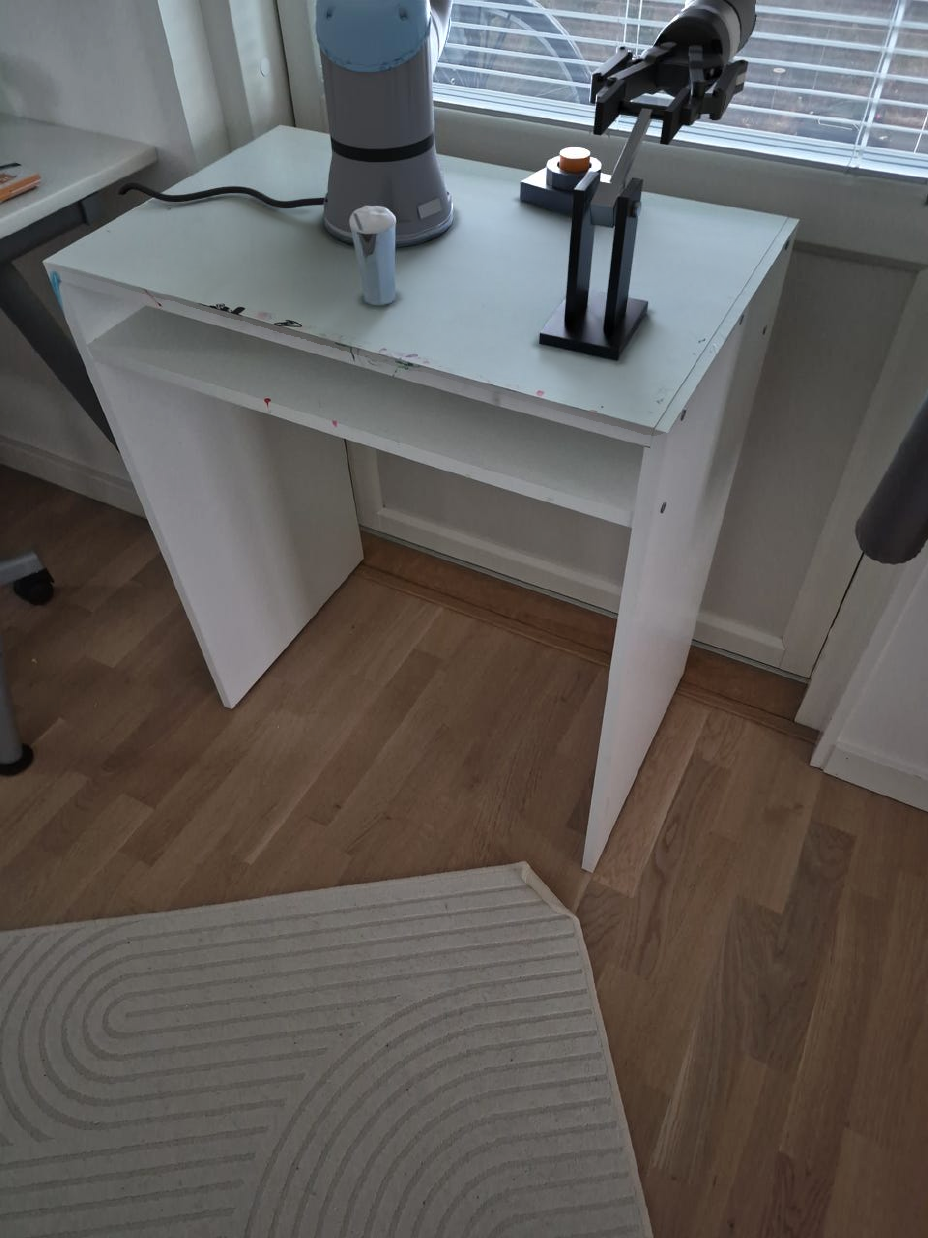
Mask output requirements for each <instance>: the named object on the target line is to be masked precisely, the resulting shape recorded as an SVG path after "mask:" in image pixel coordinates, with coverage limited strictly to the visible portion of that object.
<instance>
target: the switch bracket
mask: <svg viewBox="0 0 928 1238" xmlns="http://www.w3.org/2000/svg"><path fill="white" fill-rule="evenodd" d="M599 178H600V173H599V172H593V171H589V172H588V174H587V175H586V176H585V177H584V178H583V179H582V181H581V182H580V183H579V184H578V185H577V186H576V188H575V189H574V194H573V202H572V205H573V208H572V216H571V220H570V221H571V223H570V225H571V226H570V236H569V251H568V262H567V263H568V265H567V275H566V276H567V278H566V289H565V290H566V292H565V298H564V299H563V301H562V302H561V303H560V305H559V306H558V307H557V309H556V310H555V312H554V313H553V314H552V316H551V317H550V319H549V320H548V321H547V322H546V324H545V325H544V327H543V328H542V329H541V330H540V331H539V338H538V339H539V340H538V342H539V343H538V344H539V345H543V346H548V347H551V348H557V349H561V350H565V351H571V352H576V353H580V354H585V355H589V356H593V357H597V358H603V359H606V360H612V361H616V362H617V361H619V359H620V358H621V356H622V355H623V353H624V351H625V350H626V348H627V346H628V345H629V343H630V341H631V339H632V338H633V336H634V334H635V333H636V331H637V330H638V328H639V326H640V325H641V323H642V321H643V319H644V318H645V316H646V315H647V313H648V307H649V300H645V299H641V298H634V297H629V293H630V284H631V276H632V271H633V269H632V268H633V262H634V253H635V246H636V240H637V239H636V238H637V231H638V223H639V222H638V221H639V217H640V214H641V212H642V211H641V210H642V201H641V199H642V191H643V184H644V178H639V177H631V179H630V180H629V182H627V184H625V188H624V189H623V191H622V192H621V193H620V194H619V196H618V200H617V209H616V218H615V226H614V228H613V236H612V237H613V238H612V247H611V254H610V255H611V256H610V263H609V264H610V265H609V273H608V283H607V291H606V292H603V291H597V290H592V289H590V285H591V284H590V283H591V275H592V274H591V272H592V261H593V254H594V253H593V250H594V241H595V231H596V230H595V229H596V225H591V224H590V202H591V200H592V197H593V195H594V193H595V191H596V189H597V186H598V184H599Z"/></svg>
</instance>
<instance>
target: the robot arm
mask: <svg viewBox="0 0 928 1238" xmlns="http://www.w3.org/2000/svg"><path fill="white" fill-rule="evenodd" d="M453 3H454V0H316V1H315V24H314V25H315V27H314V29H315V35H316V41H317V43H318V48H319V58H320V65H321V73H322V82H323V89H324V90H323V91H324V99H325V105H326V115H327V122H328V131H329V138H330V147H331V159H330V165H329V171H328V177H327V178H328V179H327V189H326V190H327V191H326V193H325V196H324V197H307V198H300V199H299V198H298V199H292V200H277V199H275V198H272V197H269V196H268V195H267V194H264V193H262V192H261V191H259V190H257V189H255V188H252V187H246V186H240V185H230V186H221V187H214V188H210V189H204V190H200V191H197V192H191V193H186V194H166V193H162V192H159V191H156V190H154V189H152V188H150V187H148V186H146V185H143V184H141V183H138V182H135V181H134V182H133V181H129V182H126V183H125V184H123V185H122V186H121V187H120V188H119V189H118V191H117V195H118V196H124V195H126V194H127V193H128V192H130V191H132V190H135V191H138V192H140V193H143V194H145V195H147V196H149V197H150V198H153V199H156V200H158V201H162V202H167V203H185V202H192V201H197V200H198V201H199V200H201V199H207V198H210V197H211V198H212V197H216V196H220V195H227V194H242V195H248V196H251V197H253V198H256V199H257V200H259V201H261V202H263V203H264V204H266V205H268V206H270V207H273V208H276V209H277V208H278V209H296V208H302V207H313V206H314V207H315V206H323V221H324V226H325V228H326V230H327V232H328V233H330V235H332V236H333V237H334V238H336V239H337V240H340V241H343V242H344V243H347V244H351V245H354V242H353V238H352V233H351V228H350V223H349V220H350V217H351V215H352V213H353V212H354V211H355V210H356V209H359V208H362V207H364V206H380V207H385V208H387V209H388V210H389V211H391V212H392V213H393V214H394V216H395V217H396V236H395V248H400V247H406V246H413V245H417V244H420V243H424V242H426V241H430V240H431V239H435V238H436V237H438V236H439V235H441V234H443V233H444V232H445V231H447V230H448V229H449V227H450V226H451V225H452V223H453V220H454V208H453V198H452V196H451V192H450V189H449V188H448V187H447V186H446V183H445V177H444V173H443V169H442V167H441V163H440V160H439V156H438V154H437V150H436V137H435V109H434V73H435V70H436V68H437V66H438V63H439V60H440V57H441V55H442V54H443V53H442V52H443V50H444V49H445V48H446V45H447V42H448V40H449V36H450V31H451V27H452V19H451V15H452V8H453ZM755 4H756V0H685V5H684V7H683V8H682V9H681V10H680V11H679V13H677V14H676V15H675V16H674V17H673V18H672V19H671V21H670V22H669V23H668V24H667V25H666V26H665V27H664V28H663V29H662V30H661V31H660V33H659V35H658V36H657V38H656V39H655V41H654V43H653V45H652V47H649V48H646V49H644V51H642V53H641V55H637V54H635V55H634V51H633V50H631V49H630V50H629V46H628V47H627V46H626V45H619V46H617V47H616V48H615V54H614V55H612V56H611V57H610V58H609V59H607V60H606V61H605V62H604V63H602V64H601V65H600V66H599V67H597V69H595V70H594V71H593V72H592V73H591V78H590V91H589V100H588V101H589V102H588V103H590V104H592V105H595V107H594V121H593V132H592V133H593V134H592V135H594V136H599V137H601V136H602V135H603V134H604V133H605V132H606V131H607V129H609V127H610V126H611V125H612V124H613V123H614V121H616V119H618V117H619V116H620V115H618V107H619V103H620V101H630V102H632V101H633V100H635V99H637V98H639V97H641V96H643V95H645V94H647V95H652V96H653V95H656V94H657V93H660V92H661V91H663V92H664V93H666V94H667V95H669V96H670V97H672V98H673V99H672V101H671V102H670V103H669V104H668V105H667V106H668V107H667V108H666V110H665V111H664V118H663V121H662V126H661V133H660V140H659V145H665V146H669V145H670V143H671V142H672V141H673V139H674V138H675V137H676V135H677V134H678V133H679V132H680V130H681V128H682V127H683V126H685V127H690V126H693V125H694V124H695V122H696V121H697V120H700V119H701V118H702V115H708V117H707V119H709V120H710V121H719V120H721V119H722V118H723V116H724V114H725V112H726V110H727V109H728V107H729V106H730V103H731V102H732V99H733V97H734V96H735V95H737V94H739V93H741V92H743V91H744V89H745V83H746V77H747V73H748V72H747V71H748V67H749V61H748V60H746V59H738V60H735V61H733V60H734V58H735V56H736V55H737V54H738V53H739V52H740V51H741V50H742V49H743V48H744V47H745V45H746V44H747V43H748V42H749V39H750V37H751V36H753V33H754V30H755V27H756V24H757V21H756V17H757V15H756V14H755ZM755 22H756V23H755ZM732 61H733V62H732ZM711 88H712V92H708V91H709V90H711Z"/></svg>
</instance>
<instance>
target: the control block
mask: <svg viewBox="0 0 928 1238" xmlns="http://www.w3.org/2000/svg"><path fill="white" fill-rule="evenodd" d="M559 161H560V155H557V156H554V157H553V158H551V159H549V160H547V163H546V167H545V168H542V169H541V170H538V171H537V172H535V173H533V174H531V175H530V176H528V177H526V178H524V179H523V180H520V191H519V192H520V194H519V200H521V201H523V202H526V203H530V204H532V205H536V206H540V207H542V208H546V209H549V210H552V211H555V212H559V213H562V214H565V215H569V216H571V217H572V208H573V205H572V202H573V194H574V189H575V188H576V186H577V185H578V184H579V183H580V182H581V181H582V179H583V178H584V177H585V176H586V175H587V174H588V172H589V171H593V172H599V173H600V178H599V182H600V181H603V182H609V180H610V178H611V176H612V175H609V174H606V173H602V167H603V163H602V162H601V161H600V160H599V159H597V158H596V157H592V156H590V165H589V169H588V170H586V171H581V172H568V171H564V170H561V169H560V168H559ZM626 181H627V179H626V180H625V182H624V185H623V189H624V188H625V187H626V183H627V182H626Z"/></svg>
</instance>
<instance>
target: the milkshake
mask: <svg viewBox="0 0 928 1238" xmlns="http://www.w3.org/2000/svg"><path fill="white" fill-rule="evenodd" d="M349 223H350V228H351V233H352V238H353V242H354V244H353V247H354V251H355V253H356V258H357V263H358V269H359V276H360V280H361V281H360V282H361V286H362V292H363V297H364V302H365V303H367V304H369V305H371V306H386V305H390V304H391V303H392V302H393V301H395V300H396V247H395V236H396V217H395V216H394V214H393V213H392V212H391V211H389V210H388V209H387V208H385V207H380V206H364V207H362V208H359V209H356V210H355V211H354V212H353V213H352V215H351V217H350V220H349Z"/></svg>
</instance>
